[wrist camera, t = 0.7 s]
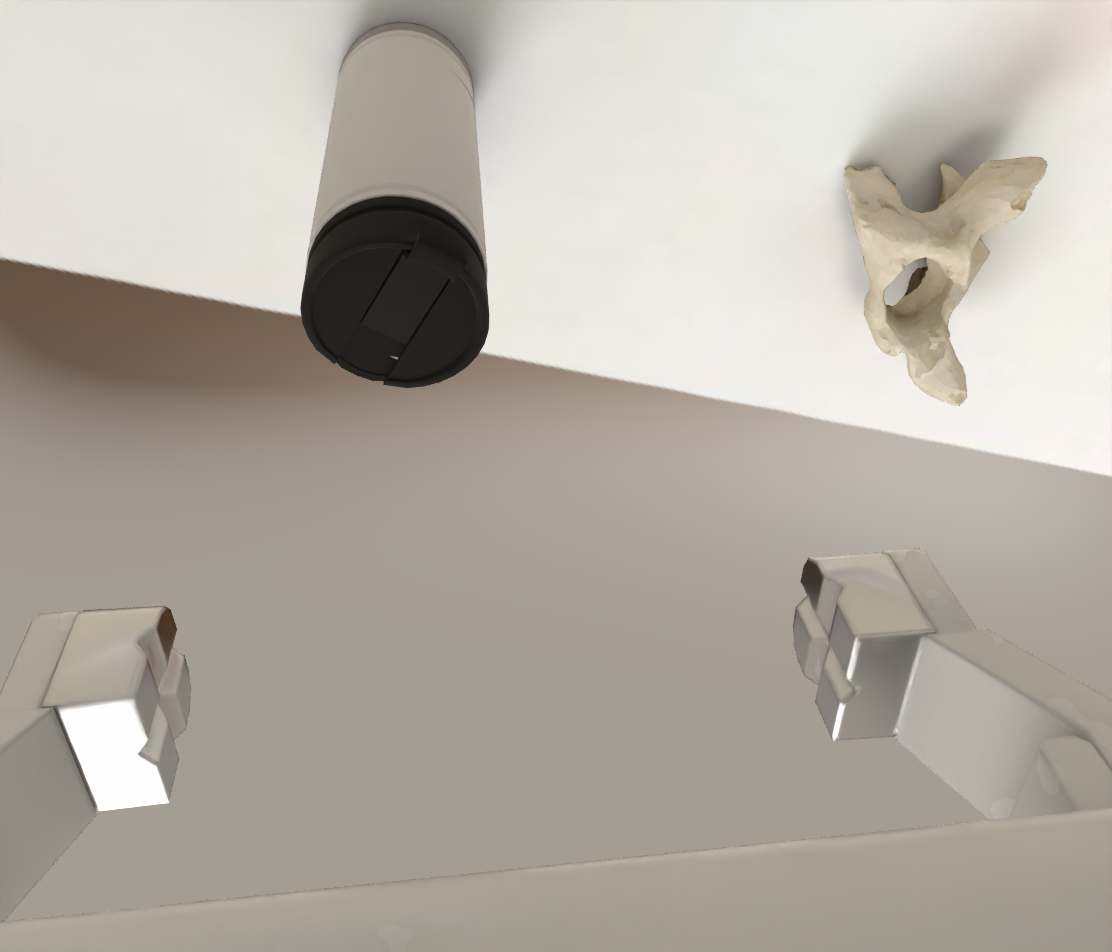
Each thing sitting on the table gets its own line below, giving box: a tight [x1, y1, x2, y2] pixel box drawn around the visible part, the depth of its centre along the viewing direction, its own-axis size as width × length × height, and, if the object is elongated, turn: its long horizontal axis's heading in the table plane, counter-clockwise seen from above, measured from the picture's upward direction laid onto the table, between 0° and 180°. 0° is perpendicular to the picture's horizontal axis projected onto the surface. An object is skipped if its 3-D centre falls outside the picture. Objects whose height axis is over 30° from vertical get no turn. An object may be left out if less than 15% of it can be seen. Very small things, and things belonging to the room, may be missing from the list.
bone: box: [844, 157, 1047, 406], centre depth 54 cm, size 9×14×8 cm, turn 15°
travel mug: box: [301, 23, 489, 388], centre depth 40 cm, size 6×7×20 cm
